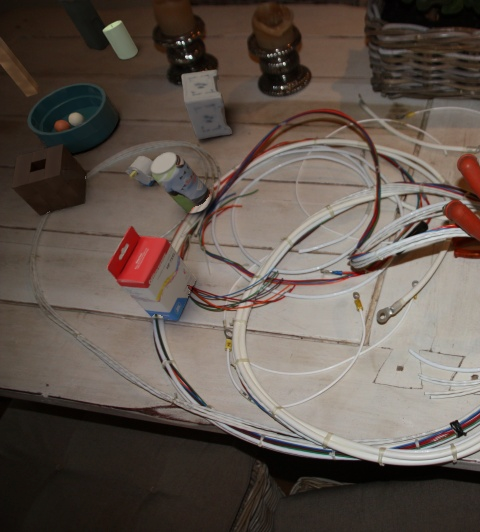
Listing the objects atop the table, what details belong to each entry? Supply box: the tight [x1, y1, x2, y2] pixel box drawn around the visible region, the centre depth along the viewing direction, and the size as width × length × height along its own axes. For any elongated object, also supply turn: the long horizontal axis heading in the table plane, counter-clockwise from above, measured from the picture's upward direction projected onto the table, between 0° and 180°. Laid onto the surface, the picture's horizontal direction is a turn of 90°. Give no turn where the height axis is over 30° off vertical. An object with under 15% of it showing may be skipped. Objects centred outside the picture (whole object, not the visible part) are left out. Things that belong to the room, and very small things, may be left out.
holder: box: [11, 144, 87, 216], centre depth 105 cm, size 9×9×8 cm
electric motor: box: [124, 155, 156, 187], centre depth 106 cm, size 7×5×5 cm
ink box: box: [106, 225, 197, 321], centre depth 86 cm, size 8×5×15 cm, turn 170°
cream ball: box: [69, 113, 85, 127], centre depth 118 cm, size 3×3×3 cm
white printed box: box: [181, 69, 233, 140], centre depth 112 cm, size 10×8×10 cm
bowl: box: [26, 82, 119, 154], centre depth 117 cm, size 16×16×6 cm
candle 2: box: [103, 20, 139, 60], centre depth 131 cm, size 5×5×8 cm
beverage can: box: [151, 151, 211, 214], centre depth 98 cm, size 6×7×12 cm
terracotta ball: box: [54, 120, 71, 132], centre depth 117 cm, size 3×3×3 cm
